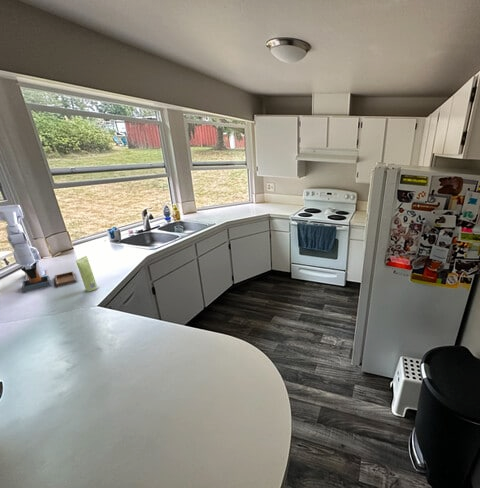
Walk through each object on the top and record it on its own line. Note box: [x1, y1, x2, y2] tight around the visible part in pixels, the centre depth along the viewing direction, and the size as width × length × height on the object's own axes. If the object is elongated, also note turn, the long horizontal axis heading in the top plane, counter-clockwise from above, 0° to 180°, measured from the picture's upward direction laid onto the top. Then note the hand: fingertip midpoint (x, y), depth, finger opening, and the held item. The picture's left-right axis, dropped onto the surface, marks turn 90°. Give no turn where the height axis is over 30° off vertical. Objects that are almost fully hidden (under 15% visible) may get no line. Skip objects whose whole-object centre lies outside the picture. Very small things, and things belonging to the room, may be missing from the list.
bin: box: [21, 275, 52, 293], centre depth 144 cm, size 10×10×3 cm
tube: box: [75, 255, 98, 292], centre depth 140 cm, size 6×5×20 cm
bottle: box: [27, 265, 41, 283], centre depth 141 cm, size 4×4×10 cm
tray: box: [54, 271, 77, 287], centre depth 151 cm, size 15×8×2 cm, turn 47°
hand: (33, 276), depth 142 cm, fingers closed on bottle, 4 cm apart
